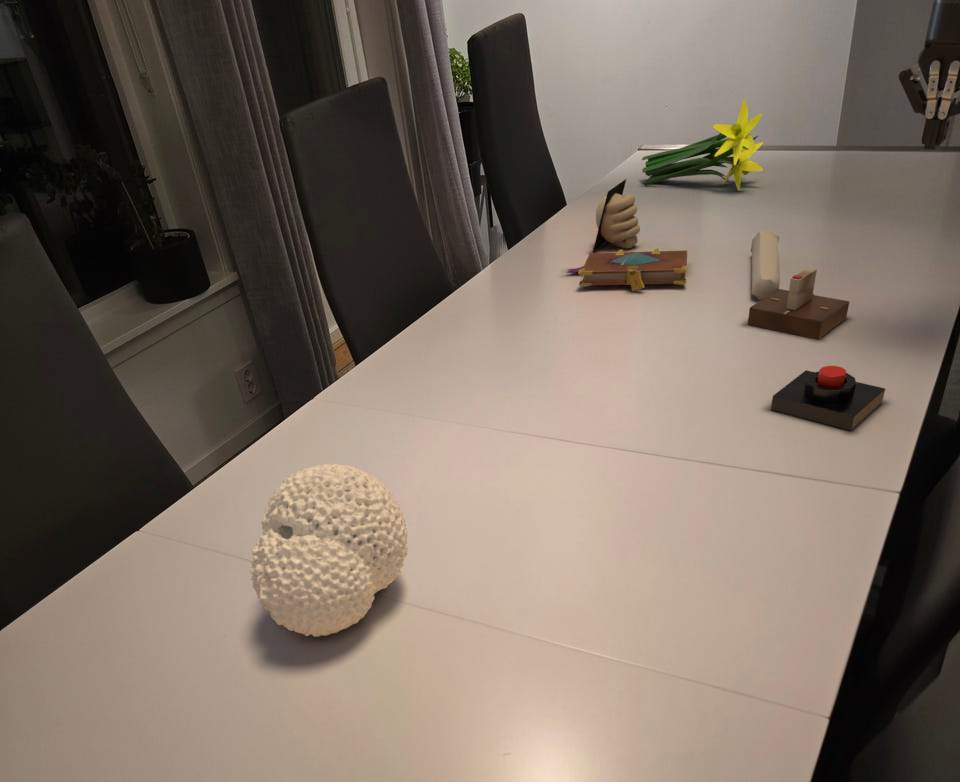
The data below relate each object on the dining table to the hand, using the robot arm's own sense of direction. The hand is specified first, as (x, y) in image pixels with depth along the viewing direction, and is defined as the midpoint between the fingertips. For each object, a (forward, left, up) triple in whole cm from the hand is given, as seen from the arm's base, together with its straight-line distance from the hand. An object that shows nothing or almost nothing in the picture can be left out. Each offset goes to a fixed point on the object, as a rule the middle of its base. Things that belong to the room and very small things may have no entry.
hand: (931, 148), depth 119 cm
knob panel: (+15, +2, -27) cm, 31 cm away
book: (+54, -2, -27) cm, 61 cm away
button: (-3, +28, -23) cm, 37 cm away
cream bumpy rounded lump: (+20, +100, -27) cm, 106 cm away
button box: (-3, +28, -27) cm, 39 cm away
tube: (+30, -14, -27) cm, 43 cm away
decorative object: (+67, -18, -27) cm, 75 cm away
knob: (+15, +2, -24) cm, 28 cm away
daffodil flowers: (+76, -64, -27) cm, 103 cm away
